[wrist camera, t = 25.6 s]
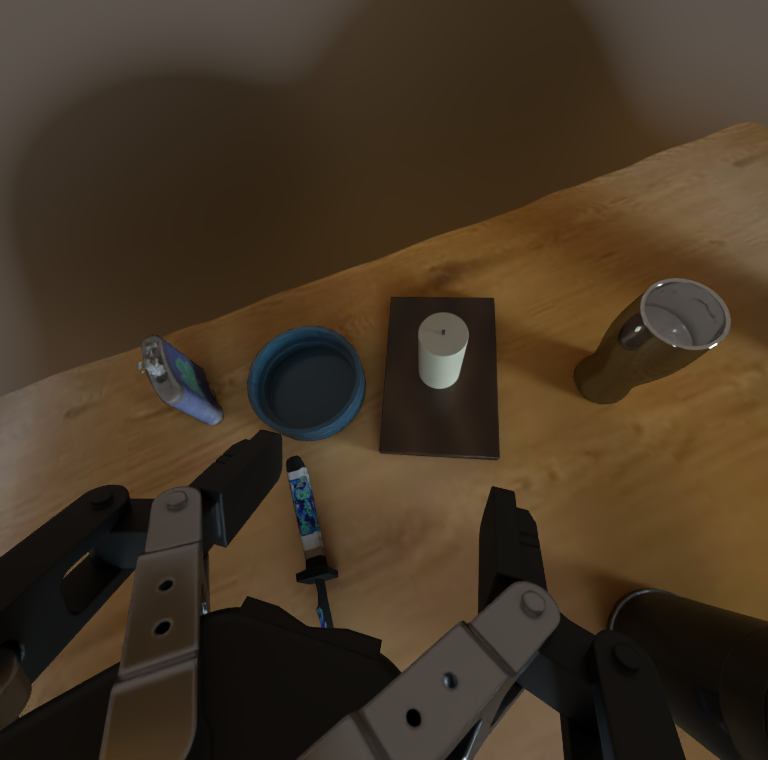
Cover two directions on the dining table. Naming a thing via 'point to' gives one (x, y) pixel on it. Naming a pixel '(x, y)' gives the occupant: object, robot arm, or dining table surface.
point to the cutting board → (448, 405)
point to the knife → (310, 537)
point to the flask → (179, 381)
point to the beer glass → (653, 339)
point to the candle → (441, 349)
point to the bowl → (307, 383)
